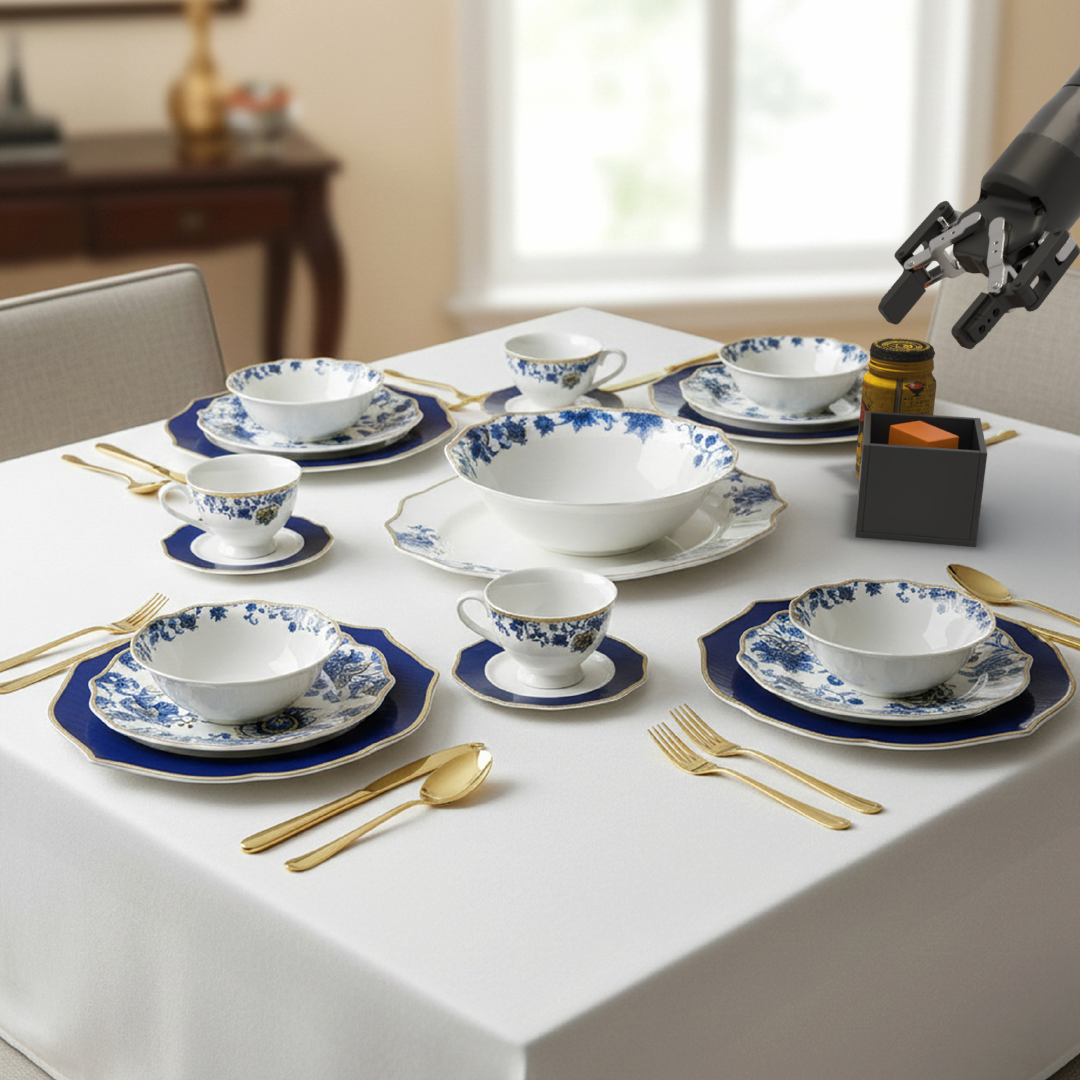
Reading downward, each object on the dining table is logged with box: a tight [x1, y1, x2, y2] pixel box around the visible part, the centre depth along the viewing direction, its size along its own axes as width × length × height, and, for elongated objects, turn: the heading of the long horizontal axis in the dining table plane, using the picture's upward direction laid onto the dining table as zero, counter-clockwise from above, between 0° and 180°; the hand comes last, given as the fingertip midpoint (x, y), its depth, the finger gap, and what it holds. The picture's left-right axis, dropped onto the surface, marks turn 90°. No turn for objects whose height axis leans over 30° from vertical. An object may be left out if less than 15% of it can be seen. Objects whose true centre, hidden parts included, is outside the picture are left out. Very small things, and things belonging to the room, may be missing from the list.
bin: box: [854, 411, 988, 548], centre depth 115 cm, size 9×9×8 cm
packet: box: [888, 421, 959, 449], centre depth 115 cm, size 3×5×7 cm, turn 26°
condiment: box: [855, 337, 937, 481], centre depth 124 cm, size 7×8×12 cm
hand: (921, 329), depth 110 cm, fingers open, 8 cm apart
